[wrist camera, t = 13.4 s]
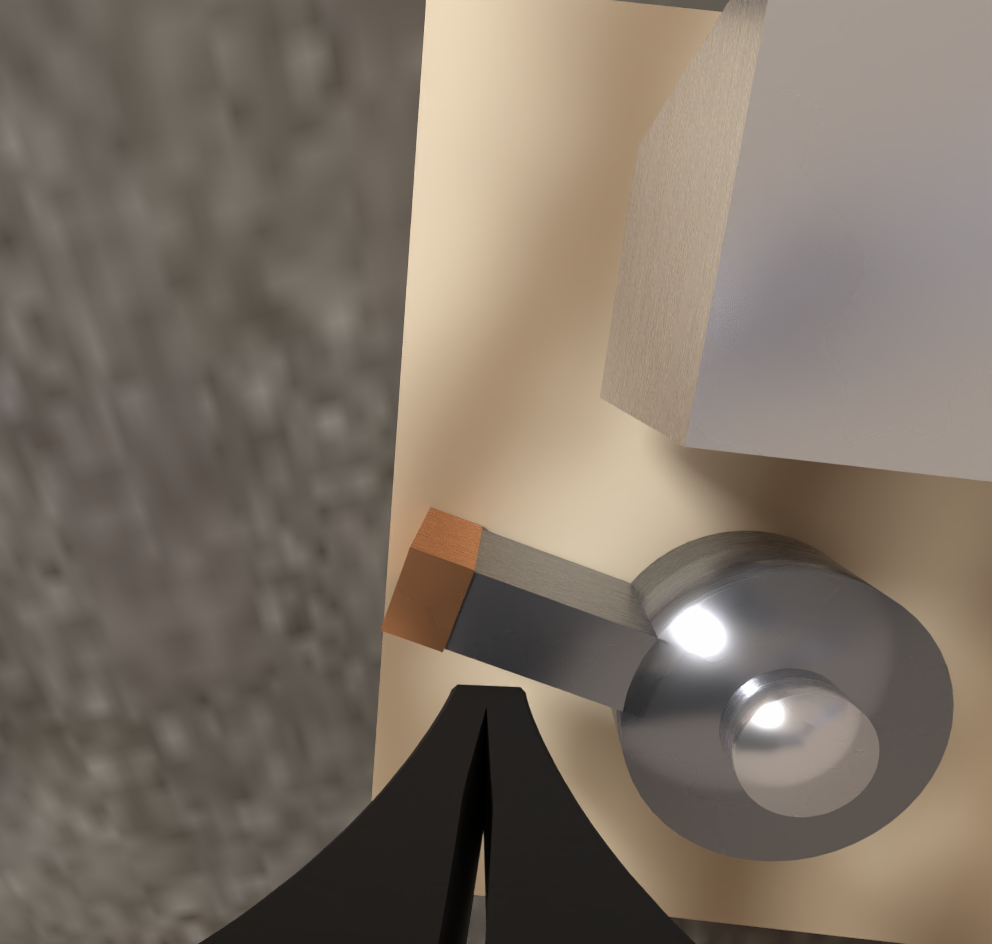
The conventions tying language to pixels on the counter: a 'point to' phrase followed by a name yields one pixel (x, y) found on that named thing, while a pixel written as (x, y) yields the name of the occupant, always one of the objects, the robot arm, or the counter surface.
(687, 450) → the wooden board
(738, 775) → the grey lidded pan
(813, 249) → the grey long rectangular block
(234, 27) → the counter surface
